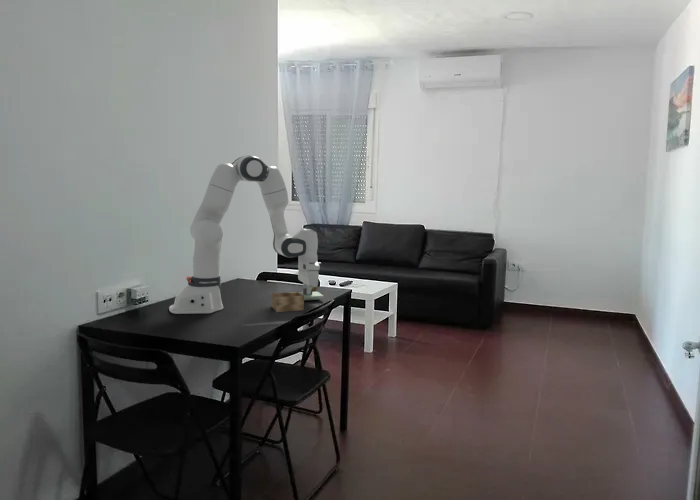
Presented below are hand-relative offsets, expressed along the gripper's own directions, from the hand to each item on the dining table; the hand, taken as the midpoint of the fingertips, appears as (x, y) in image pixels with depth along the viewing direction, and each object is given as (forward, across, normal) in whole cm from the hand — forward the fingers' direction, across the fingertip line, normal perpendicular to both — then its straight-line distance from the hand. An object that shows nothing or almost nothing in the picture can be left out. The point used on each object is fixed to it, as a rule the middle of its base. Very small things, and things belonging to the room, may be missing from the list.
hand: (307, 293), depth 270 cm
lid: (+3, 0, 0) cm, 3 cm away
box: (+4, +14, -13) cm, 19 cm away
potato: (+4, -16, +6) cm, 18 cm away
